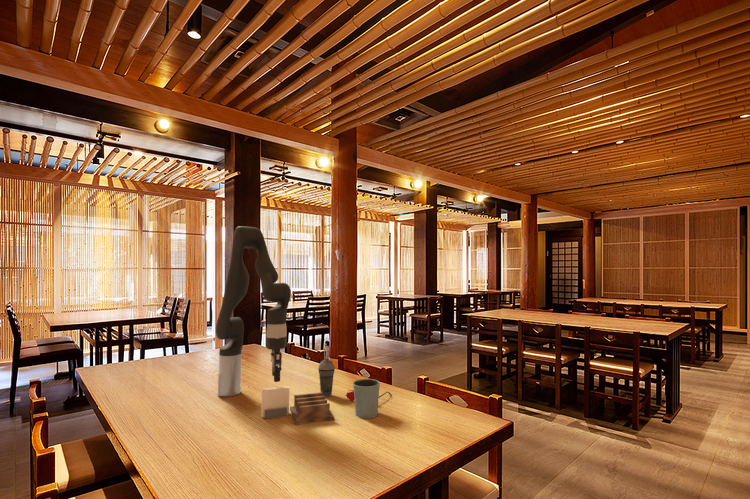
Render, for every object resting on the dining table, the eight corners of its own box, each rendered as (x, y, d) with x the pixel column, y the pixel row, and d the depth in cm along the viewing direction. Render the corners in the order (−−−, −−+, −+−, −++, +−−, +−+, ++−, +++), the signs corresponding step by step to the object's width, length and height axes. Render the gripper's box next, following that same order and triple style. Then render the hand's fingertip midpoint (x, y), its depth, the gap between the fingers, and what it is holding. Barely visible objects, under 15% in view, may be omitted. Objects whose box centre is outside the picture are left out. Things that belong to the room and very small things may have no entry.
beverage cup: (331, 398, 165) (332, 351, 166) (315, 397, 167) (316, 350, 168) (336, 393, 172) (337, 348, 173) (321, 392, 174) (321, 347, 175)
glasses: (345, 401, 164) (345, 389, 164) (364, 390, 178) (364, 379, 178) (374, 407, 157) (374, 394, 157) (391, 395, 172) (391, 384, 172)
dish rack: (295, 424, 138) (295, 408, 138) (290, 409, 152) (290, 395, 153) (333, 419, 143) (334, 404, 143) (325, 405, 157) (325, 391, 157)
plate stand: (264, 418, 143) (264, 410, 143) (263, 413, 148) (263, 405, 148) (286, 416, 146) (286, 408, 146) (285, 411, 151) (285, 403, 151)
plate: (261, 417, 144) (262, 390, 145) (261, 415, 146) (261, 388, 147) (288, 414, 148) (289, 387, 148) (288, 412, 150) (288, 386, 150)
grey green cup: (382, 411, 151) (383, 380, 152) (374, 420, 142) (374, 387, 142) (358, 408, 155) (358, 377, 155) (348, 417, 145) (349, 384, 146)
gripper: (265, 333, 154) (264, 374, 153) (267, 339, 141) (267, 384, 140) (284, 332, 156) (284, 373, 156) (288, 337, 143) (288, 382, 142)
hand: (276, 378), depth 148 cm, fingers open, 8 cm apart
